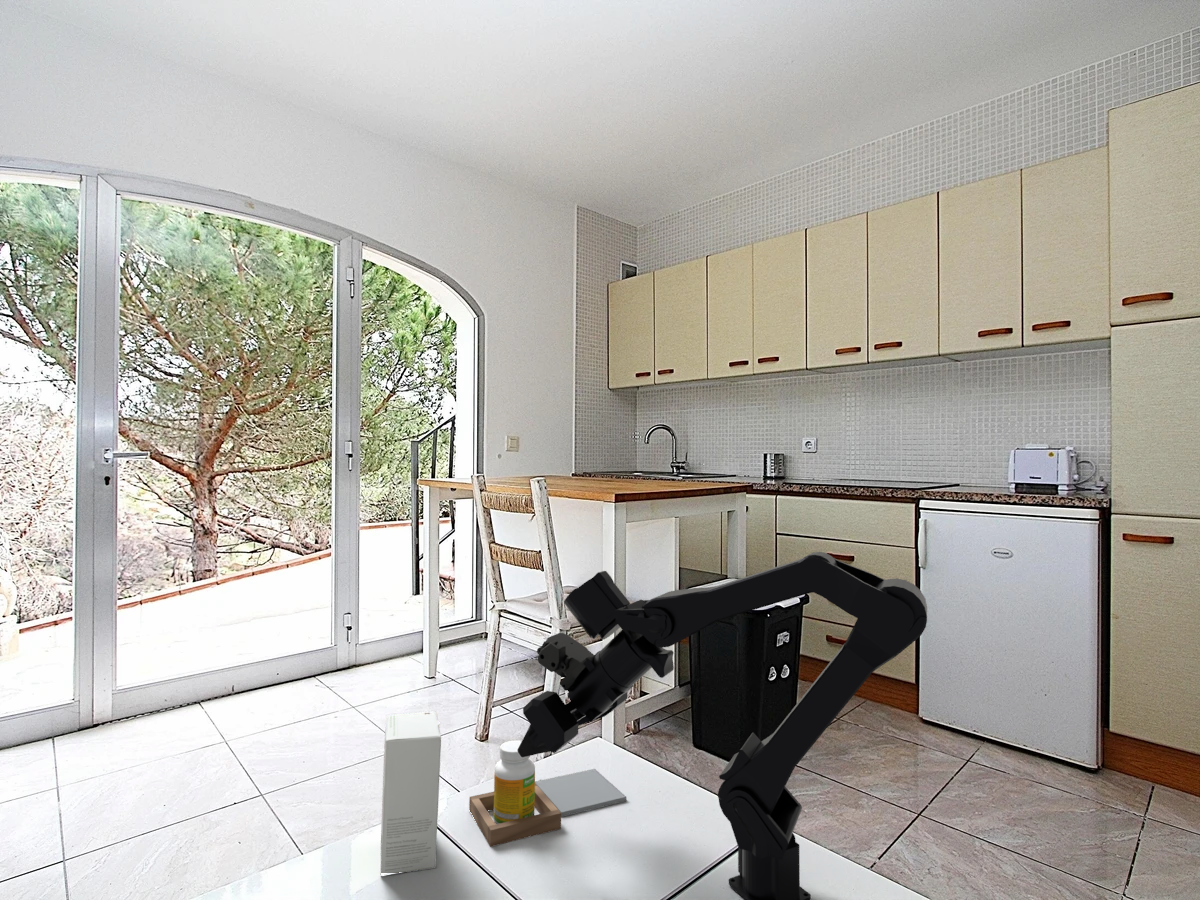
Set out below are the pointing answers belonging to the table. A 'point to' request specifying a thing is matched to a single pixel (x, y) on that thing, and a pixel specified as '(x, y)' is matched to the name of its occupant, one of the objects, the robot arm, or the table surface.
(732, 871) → the table surface
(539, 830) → the walnut collar
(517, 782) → the supplement bottle
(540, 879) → the table surface
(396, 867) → the skincare box
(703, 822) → the table surface
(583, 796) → the slate pad
